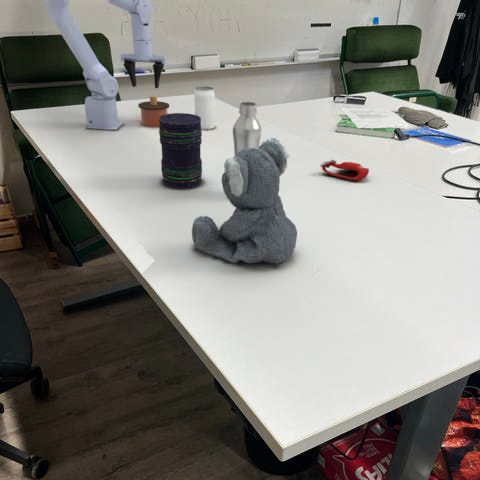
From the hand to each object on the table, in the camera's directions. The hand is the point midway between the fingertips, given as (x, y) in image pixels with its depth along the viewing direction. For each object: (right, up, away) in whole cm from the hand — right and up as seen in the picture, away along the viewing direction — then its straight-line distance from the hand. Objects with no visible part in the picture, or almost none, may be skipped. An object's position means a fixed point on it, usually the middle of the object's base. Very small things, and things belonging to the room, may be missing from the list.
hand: (145, 86), depth 158 cm
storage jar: (+17, -43, -40) cm, 61 cm away
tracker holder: (+59, -39, -31) cm, 77 cm away
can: (+20, -13, +1) cm, 24 cm away
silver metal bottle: (+32, -48, -45) cm, 73 cm away
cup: (+3, -11, +2) cm, 12 cm away
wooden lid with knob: (+3, -7, -1) cm, 8 cm away
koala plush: (+33, -64, -67) cm, 98 cm away
